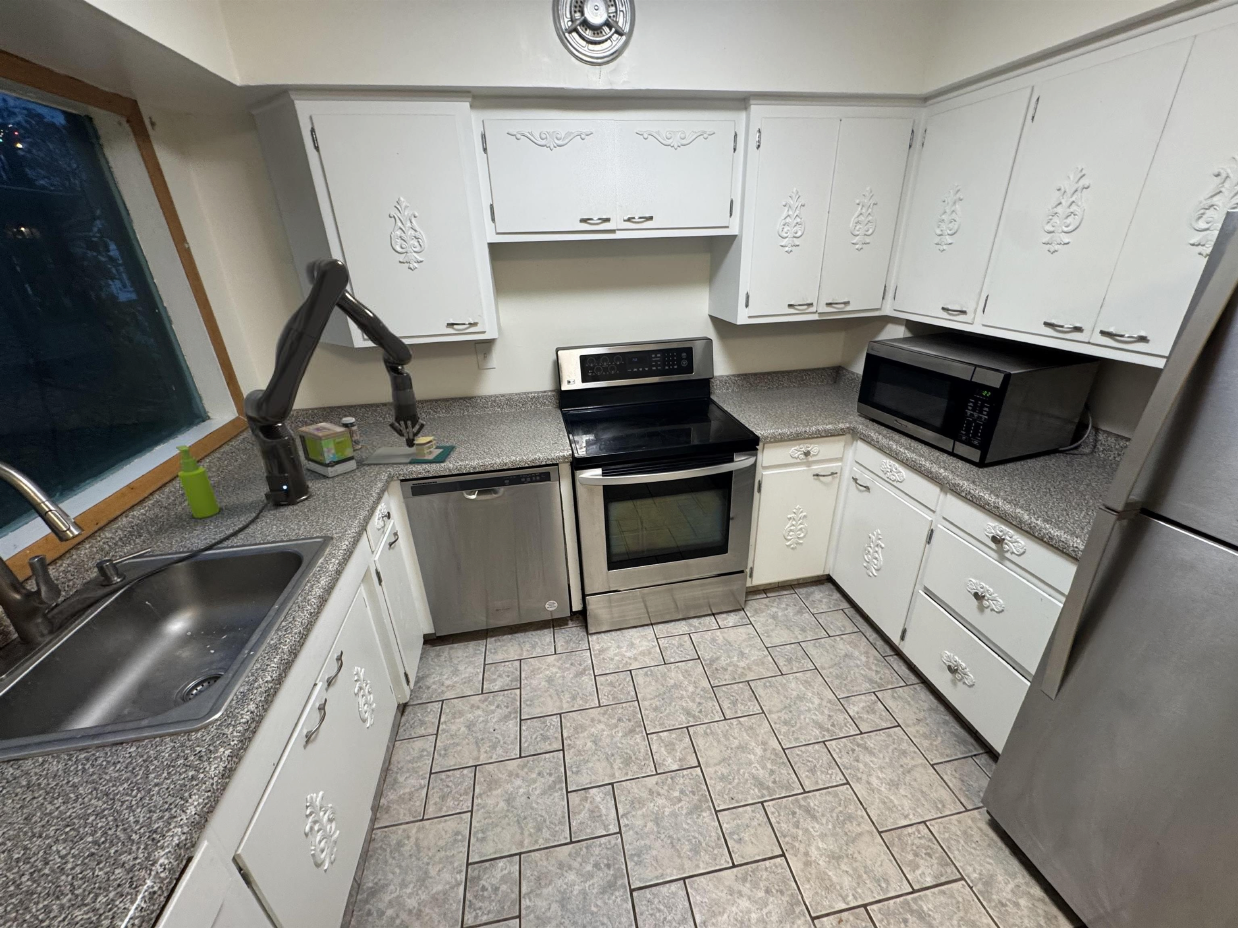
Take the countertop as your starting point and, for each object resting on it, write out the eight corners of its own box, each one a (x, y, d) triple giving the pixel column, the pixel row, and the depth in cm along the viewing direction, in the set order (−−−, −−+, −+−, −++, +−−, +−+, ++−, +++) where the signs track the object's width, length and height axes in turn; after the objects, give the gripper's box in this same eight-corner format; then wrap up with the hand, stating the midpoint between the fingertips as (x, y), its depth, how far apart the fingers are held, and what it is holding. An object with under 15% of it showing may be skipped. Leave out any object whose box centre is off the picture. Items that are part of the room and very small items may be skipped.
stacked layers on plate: (431, 459, 180) (429, 444, 178) (407, 458, 181) (405, 444, 179) (443, 449, 189) (441, 435, 187) (420, 448, 190) (418, 434, 188)
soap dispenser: (214, 505, 148) (192, 441, 141) (222, 512, 144) (199, 447, 137) (190, 512, 144) (165, 447, 137) (196, 520, 140) (172, 453, 133)
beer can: (355, 451, 190) (349, 420, 185) (344, 450, 191) (337, 420, 186) (364, 446, 194) (357, 417, 190) (353, 446, 195) (346, 416, 190)
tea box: (358, 468, 174) (349, 427, 168) (329, 478, 166) (318, 436, 161) (335, 459, 182) (325, 420, 176) (306, 468, 174) (295, 428, 168)
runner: (443, 462, 178) (442, 461, 178) (362, 464, 177) (362, 463, 177) (454, 447, 193) (454, 445, 193) (380, 448, 192) (379, 447, 192)
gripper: (381, 404, 174) (389, 450, 180) (420, 403, 174) (426, 450, 181) (389, 398, 181) (396, 443, 187) (426, 398, 181) (432, 443, 188)
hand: (411, 447), depth 184 cm, fingers closed
